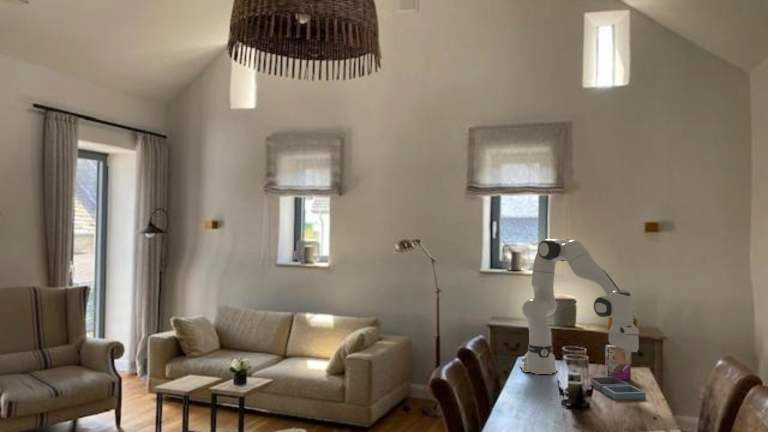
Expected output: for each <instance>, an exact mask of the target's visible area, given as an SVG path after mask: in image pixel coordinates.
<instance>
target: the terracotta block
mask: <svg viewBox="0 0 768 432" xmlns="http://www.w3.org/2000/svg"><path fill="white" fill-rule="evenodd" d="M625 353H626V352H625V350H615V362H617V363H620V364H632V353H631V354H630V356H629V360H625V359H624V355H625Z"/></svg>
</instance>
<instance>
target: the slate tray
mask: <svg viewBox="0 0 768 432" xmlns="http://www.w3.org/2000/svg"><path fill="white" fill-rule="evenodd" d="M601 394H603V395H605V396H607V397H608V398H610V399H611V400H613V401H635V400H636V401H638V400H642V401H643V400H646V392H645V391H643V390H641V389H639V388H637V387H636V386H634V385H632V384H630V385H621V386H602V392H601Z"/></svg>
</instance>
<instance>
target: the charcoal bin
mask: <svg viewBox="0 0 768 432" xmlns="http://www.w3.org/2000/svg"><path fill="white" fill-rule="evenodd" d="M590 380H591V382H592V384H593V387H594V388H593V387H592V388H593V389H595V390H596V391H598V392H601V393H602V386H621V385H631V384H630V383H628V382H626V381H625V380H620V379H618V378H617V377H605V376H591V377H590Z"/></svg>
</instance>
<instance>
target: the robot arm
mask: <svg viewBox="0 0 768 432" xmlns="http://www.w3.org/2000/svg"><path fill="white" fill-rule="evenodd" d="M559 261H561V262H565V261H566V262H567V264H568V265H569V267H570V270H571V271H572V272H573V274H575V275H576V277H578V278H581V279H584V280H587V281H591V282H594V283H595V284H597V285H598V286H600V288H601V289H602V290H603V292H604V293H605V294H606V295H603V296H599V297H597V298H596V299H595V300H594V302H593V310H594V313H595V314H596V315H597V316H598V317H600V318H611V326H610V328H609V331H608V343H609V345H614V346H615V349H616V350H621V348H622V349H624V350H625V352H626V353H625V355H624V359H625V360H629V356H630V354H631V355H632V353H637V352H638V351H639V349H640V348H639V347H640V345H639V343H640V342H639V341H640V340H639V334H640V329H639V328H638V327H637V326H636V325H635V323H634V318H633V314H634V303H633V302H634V301H633V297H632V294H631V293H630V292H629V291H626V290H621V289H620V288H619V287H618V286H617V285H616V283H615V281H613V279H612V278H611V276H610V275H609V274H608V273H607V271H605V270H604V269H603V268H602V267H601V266H599V264H598V263H597V262H596V261H595V259H594V258H593V257H592V255H591V254H590V252H589V251H588V249H587V248H586V247H585V245H584V244H583V243H582V242H581V241H580V240H577V239H572V240H571V239H569V238H568V239H565V238H546V239H543V240H541V241H540V242H539V244H538V247H537V252H536V254H535V257H534V261H533V266H532V274H531V286H532V288H533V292H534V293H533V294H534V295H533V297H531V298H529V299H528V300H526V301H524V303H523V305H522V306H521V307H522V308H521V309H522V313H523V316H525V319H526V321H527V325H528V337H529V338H528V339H529V340H528V341H529V343H528V347H527V351H526V353H525V354H524V355H523V357H521V362H522V363H519V367H521V368H522V370H523V371H526V372H532V373H535V374H534V375H539V374H549V375H553V374H552V373H554V372H555V371H557V370H558V371H559V369H558V368H557V367H556V357H555V355H554V353H553V345H552V330H551V328H550V327H549V324H548V323H549V322H548V318H547V317H550V316H551V315H553V314H554V313H555V312H556V311H557V307H558V303H557V301H556V300H555V292H554V283H555V272H556V264H557V262H559ZM521 368H520V369H521ZM522 370H521V371H522ZM523 371H522V372H523ZM532 373H531V374H532ZM555 373H556V372H555ZM555 373H554V374H555Z"/></svg>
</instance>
